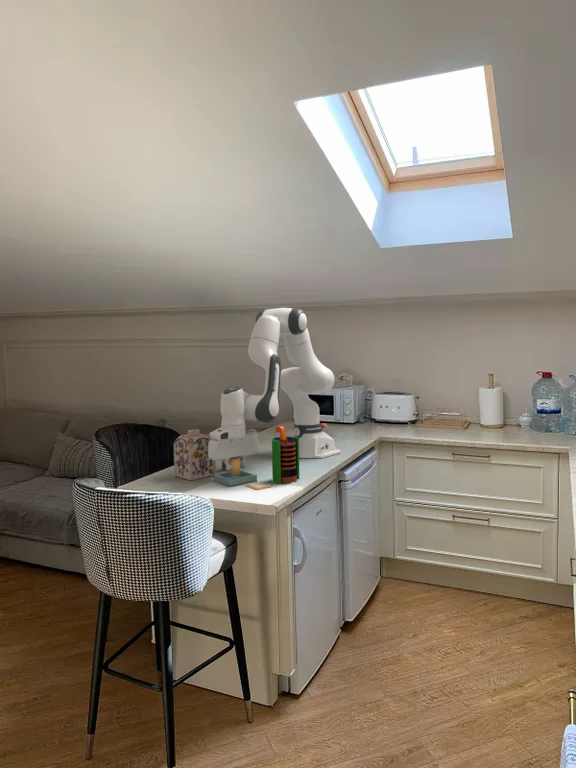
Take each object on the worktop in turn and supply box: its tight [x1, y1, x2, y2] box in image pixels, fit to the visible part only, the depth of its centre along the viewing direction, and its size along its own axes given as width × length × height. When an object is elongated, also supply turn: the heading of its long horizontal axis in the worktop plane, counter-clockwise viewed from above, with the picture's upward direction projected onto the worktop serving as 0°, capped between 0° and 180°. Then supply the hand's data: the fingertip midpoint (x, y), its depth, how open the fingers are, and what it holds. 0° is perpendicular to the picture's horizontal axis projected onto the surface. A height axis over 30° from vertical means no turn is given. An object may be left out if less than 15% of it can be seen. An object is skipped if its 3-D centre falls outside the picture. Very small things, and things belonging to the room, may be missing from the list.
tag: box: [244, 481, 272, 491], centre depth 212 cm, size 6×8×1 cm
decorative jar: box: [173, 429, 217, 482], centre depth 230 cm, size 12×12×18 cm
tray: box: [213, 469, 258, 488], centre depth 220 cm, size 12×12×2 cm
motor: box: [271, 425, 300, 485], centre depth 218 cm, size 10×9×20 cm
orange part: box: [229, 457, 242, 476], centre depth 220 cm, size 4×4×7 cm
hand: (234, 468), depth 220 cm, fingers closed on orange part, 4 cm apart
